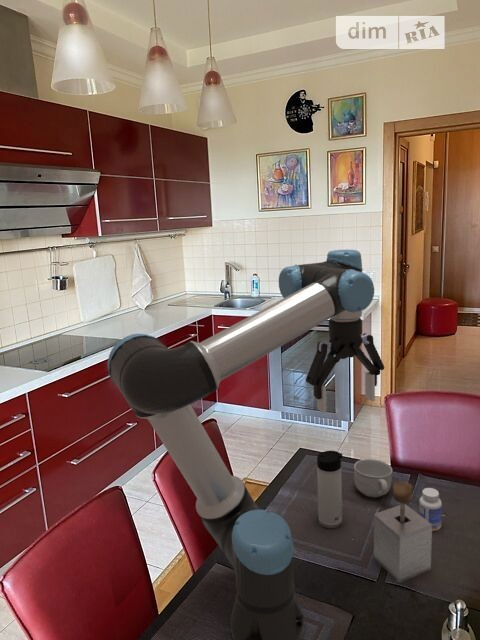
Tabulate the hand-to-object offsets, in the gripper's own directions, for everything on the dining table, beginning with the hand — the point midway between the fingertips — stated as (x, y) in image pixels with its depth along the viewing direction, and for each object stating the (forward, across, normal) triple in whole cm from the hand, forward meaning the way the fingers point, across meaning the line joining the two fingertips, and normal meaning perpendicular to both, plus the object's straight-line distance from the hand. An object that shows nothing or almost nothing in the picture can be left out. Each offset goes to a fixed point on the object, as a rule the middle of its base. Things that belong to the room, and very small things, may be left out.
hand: (346, 405), depth 117 cm
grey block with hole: (+37, +6, -12) cm, 39 cm away
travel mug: (+37, 0, +8) cm, 38 cm away
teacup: (+37, +18, +13) cm, 43 cm away
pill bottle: (+37, +22, -5) cm, 43 cm away
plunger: (+34, +6, -13) cm, 37 cm away
